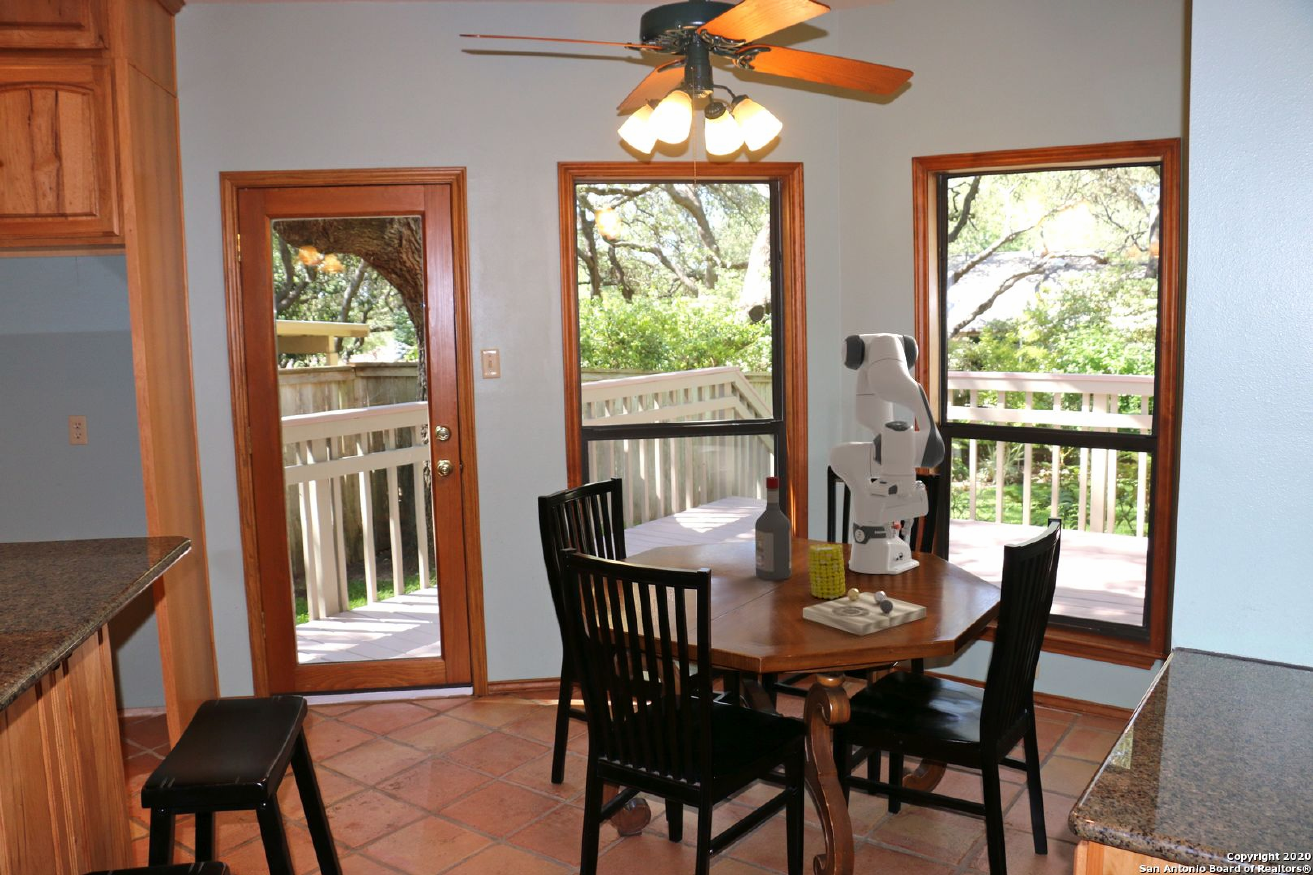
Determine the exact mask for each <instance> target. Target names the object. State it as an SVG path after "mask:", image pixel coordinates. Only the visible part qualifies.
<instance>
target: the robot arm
mask: <svg viewBox="0 0 1313 875" xmlns="http://www.w3.org/2000/svg"><path fill="white" fill-rule="evenodd" d="M840 352H841V354H840V355H841V359H842V361H843V364H844V366H845V367H846V368H848V370H849V369H850V370H853V371H858V373H857V378H856V383H855V404H854V409H855V410H854V419H855V421H856V424H857V425H858V426H860V427H861V428H863V429H864V430H866V431H868V432H870V433H872V434H873V435H874V439H872V441H847V442H842V443H837V444H836V445H834V447H833V448H832V450H831V452H830V453H829V454H830V456H829V466H830V467H831V470H832V471H833V473H834V474H835V475H837V477H839V478H840V479H842V480H843V481H844V484H845V485H846V486H847V487H848V490H849V491H850V494H851V496H852V501H853V502H852V503H853V514H854V517H853V519H854V522H853V523H852V535H853V539H852V542H851V549H850V550H851V552H850V559H849V560H848V565H849V566H848V569H849V570H851V571H853V572H856V573H861V574H873V575H875V574H876V575H881V574H883V575H885V574H886V575H887V574H888V575H899V574H900V573H901V574H902V573H903V572H905V571H908V570H911V569H913V568H916V567H919V566H920V562H919V561H918V560H916V559H912V551H911V547H910V546H909V544H908V543H906V541H904V540H903V539H901V538H900V537H899V535H897V534H896V530H897V531H900V530H901V535H902V536H906V537H907V536H910V535H911V528H912V527H913V524H914V522H915V519H914V518H918V517H919V518H920V517H924V516H927V514H928V512H929V500H928V494H927V493H928V492H927V490H926V485H925V484H924V482H922V481H921V480H917V471H916V468H920V469H930V470H933V469H934V468H936V467H937V466H938V465H940V464H941V463H942V462H943V461H944V459H945V453H946V451H945V450H946V449H945V444H944V440H943V438H942V435H941V434H940V431H939V429H938V426H937V424H936V420H935V418H934V415H933V411H932V409H931V405H930V402H929V399H928V397H927V395H926V392H925V389H924V388H923V386H922V384H921V383H919V382H917V381H916V380H914V379H913V378H912V376H911V375H910V373H909V371H910V369H912V368H913V367H914V366H915V365H916V363H917V360H918V356H919V348H918V344H917V341H916V339H915V338H914V337H913V336H911V335H907V334H901V335H900V334H894V333H872V334H871V333H869V334H868V333H867V334H859V333H856V334H852V335H851V334H850V335H848V336H847V337H846V338H845V340H844V342H843V344H842V346H841V351H840ZM894 404H896V405H899V406H902V407H905V408H907V409H908V410H910V411H911V412H912V413H913V415H914V417H915V420H916V423H917V427H918V429H919V430H917V431H915V428H914V426H913V424H912V423H910V422H907V421H901V420H894V411H893V410H894V409H893V408H894V407H893V405H894ZM872 479H876V480H875V481H873V482H872ZM898 521H904V524H903V527H902V524H901V523H899V522H898ZM897 522H898V523H897Z"/></svg>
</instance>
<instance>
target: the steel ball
mask: <svg viewBox="0 0 1313 875" xmlns="http://www.w3.org/2000/svg"><path fill="white" fill-rule="evenodd" d="M874 594H875V595H874V600H875V601H876V602H877V603H879V604H881V602H882V601H884V600H886V599H887V597H888V596H887V595H886V593H885V592H884V591H882V590H880V591H876V592H874Z"/></svg>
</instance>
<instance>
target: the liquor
mask: <svg viewBox="0 0 1313 875" xmlns="http://www.w3.org/2000/svg"><path fill="white" fill-rule="evenodd" d="M779 481H780V479H779V476H768V477H767V476H766V477H765V489H766V506H765V510H764V511H763V512H762V514H761V515H760V516H759V517H758V518H757V519H756V521H755V524H754V532H755V534H754V535H755V544H754V545H755V546H754V547H755V575H756V577H757V578H759V579H762V580H764V581H771V582H776V581H782V580H788V579H789V578H790V577H791V575H792V525H791V522H790V519H789V518H788V517H787V516H786V515H785V514H784V512H782V510H781V508H780V506H779V505H780V504H779V503H780V502H779V488H780V485H779V484H780V483H779Z"/></svg>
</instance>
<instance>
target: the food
mask: <svg viewBox="0 0 1313 875" xmlns="http://www.w3.org/2000/svg"><path fill="white" fill-rule="evenodd" d="M843 556H844V554H843V546H842V545H841V544H837V545H836V544H833V543H832V544H830V543H826V544H824V543H822V544H815V545H809V547H808V563H809V576H810V577H809V580H810V588H811V593H812V596H813V597H816V598H819V599H822V598H823V599H825V600H827V599H829V600H830V601H833V600H835V599H839V597H843V595H844V594H846V583H845V582H846V578H845V567H844V560H845V559H844V557H843Z"/></svg>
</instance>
